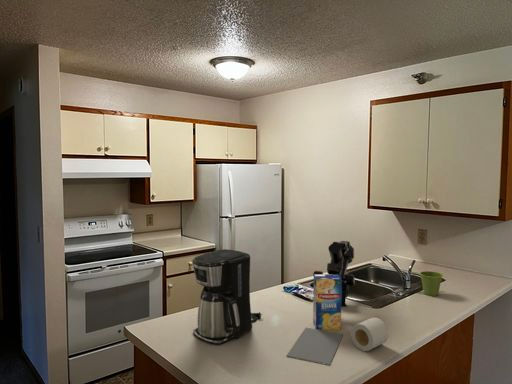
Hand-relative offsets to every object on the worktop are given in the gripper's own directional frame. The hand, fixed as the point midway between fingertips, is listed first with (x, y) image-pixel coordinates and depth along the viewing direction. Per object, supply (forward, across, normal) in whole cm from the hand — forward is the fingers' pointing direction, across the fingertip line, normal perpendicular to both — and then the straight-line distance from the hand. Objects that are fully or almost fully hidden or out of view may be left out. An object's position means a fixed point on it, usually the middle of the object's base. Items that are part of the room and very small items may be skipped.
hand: (331, 294), depth 174 cm
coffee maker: (+29, -35, -12) cm, 47 cm away
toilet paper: (+23, +20, -6) cm, 30 cm away
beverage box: (+14, 0, +2) cm, 14 cm away
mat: (+28, 0, -11) cm, 30 cm away
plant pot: (-30, +43, +46) cm, 70 cm away
